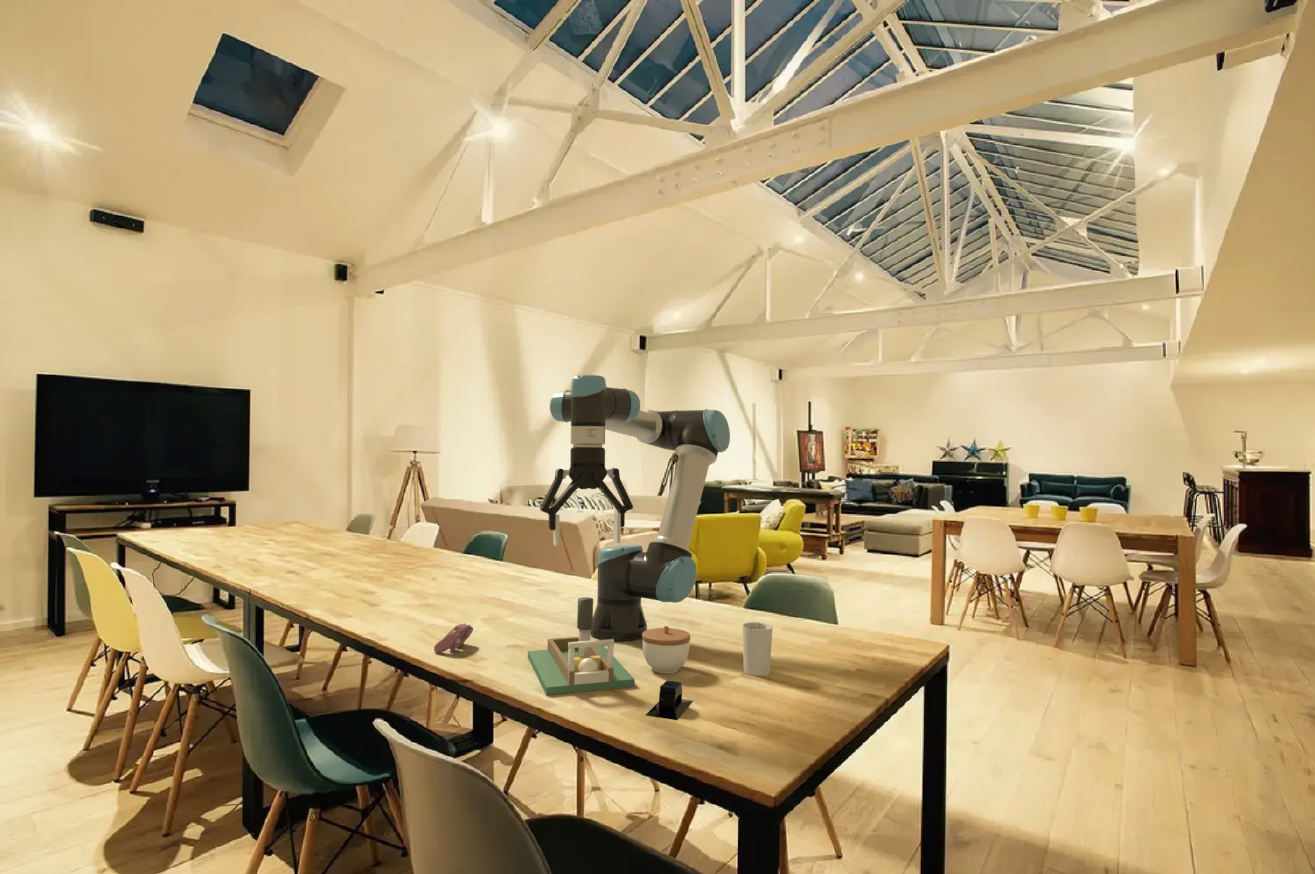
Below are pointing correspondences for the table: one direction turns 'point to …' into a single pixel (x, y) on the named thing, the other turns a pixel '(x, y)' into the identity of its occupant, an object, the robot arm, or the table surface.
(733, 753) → the table surface
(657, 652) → the lidded jar
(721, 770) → the table surface
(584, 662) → the ball
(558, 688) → the pitch
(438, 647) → the pink toy animal
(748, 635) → the drinking glass
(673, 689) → the black arch on base
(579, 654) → the striker
